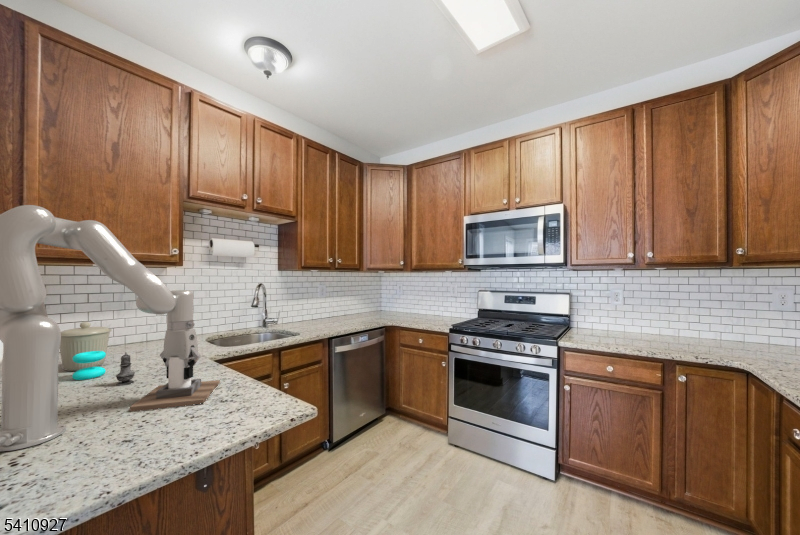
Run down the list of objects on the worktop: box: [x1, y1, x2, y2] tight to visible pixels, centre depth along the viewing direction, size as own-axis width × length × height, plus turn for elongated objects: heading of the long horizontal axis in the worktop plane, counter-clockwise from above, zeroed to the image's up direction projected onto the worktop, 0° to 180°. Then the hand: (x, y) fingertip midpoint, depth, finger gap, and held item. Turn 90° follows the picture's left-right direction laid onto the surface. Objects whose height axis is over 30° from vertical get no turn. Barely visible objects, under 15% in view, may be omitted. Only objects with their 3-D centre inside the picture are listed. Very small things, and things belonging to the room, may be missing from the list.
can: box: [167, 356, 192, 389], centre depth 110 cm, size 6×6×12 cm
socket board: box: [129, 378, 221, 413], centre depth 110 cm, size 20×20×4 cm
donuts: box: [71, 351, 107, 381], centre depth 132 cm, size 10×10×10 cm
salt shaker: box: [115, 352, 136, 387], centre depth 124 cm, size 6×6×12 cm
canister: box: [59, 321, 112, 372], centre depth 146 cm, size 18×18×21 cm
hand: (179, 377), depth 110 cm, fingers closed on can, 6 cm apart
